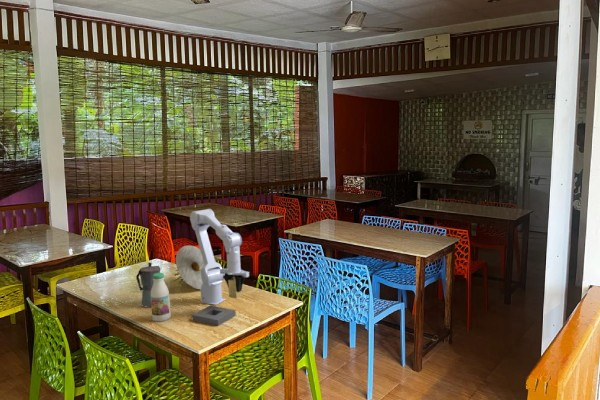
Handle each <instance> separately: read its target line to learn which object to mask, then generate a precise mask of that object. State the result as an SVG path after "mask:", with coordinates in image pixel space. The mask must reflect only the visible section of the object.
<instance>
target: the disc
mask: <svg viewBox="0 0 600 400" xmlns="http://www.w3.org/2000/svg"><path fill="white" fill-rule="evenodd" d="M175 264H176V271H177V272H175V273H174V274H173V275H174V277H175V276H178V275H179V276H178V277H177V278H175V279H174V280H172V281H170V283H173V282H175V281H177V280H179V279H180V281H179V282H178V283H179V284H180V285H181V287H180V289H182V288H183V287H184V286H186V284H187V285H189V286H190V287H192V288H194V289H197V290H201V286H202V284H203V282H202V279H201V271H200V270H201V269H202V267H203V266H204V261H203V258H202V254H201V250H200V247H196V246H194V245H184V246H182V247H180V249H178V251H177V252H176V256H175ZM210 270H213V269H210ZM207 271H209V270H207Z"/></svg>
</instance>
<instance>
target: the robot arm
mask: <svg viewBox="0 0 600 400" xmlns="http://www.w3.org/2000/svg"><path fill="white" fill-rule="evenodd" d="M189 220H190V224H191V228H192V229H193V231H194V232H195V235H196V239H197V243H198V248H199V249H200V250H201V254H202V258H203V261H204V266H203V267H202V269H201V270H200V271H201V279H202V282H203V284H202V286H201V289H200V297H201V300H200V303H203V304H208V305H212V306H217V305H219V304H221V303H222V302H224V301H227V298H224V297H223V292H222V283H223V281H225V283H226V285H227V287H228V289H229V284H228V280H229V279H231V278H233V277H235V281H236V284H237V292H240V291H241V290H242V289H243V284H244V282H245V279H246V278H249V277H250V271H246V270H243V269H242V268H241V251H240V250H241V249H240V247H241V245H242V244H243V240H242V239H243V238H242V236H241V234H240V233H239V232H233V231H232V230H231V229H230V228H229V227H228V225H226V224H222V223H221V222H220V221H219V220H218V219H217V217H216V216H215V212H214V211H213V210H212V209H211V208H207V209H201V210H193V211H191V214H190V216H189ZM209 227H211V228H213V229H214V230H215V234H216V236H218V238H219V239H220V240H222V243H223V246H224V250H225V252H226V264H227V265H226V266H227V268H223V267H222V266H221V264H220V263H219V262H216V259H215V257H214V252H213V248H212V246H211V242H210V239H209V234H208V232H207V230H208V228H209ZM210 269H213V270H210ZM207 270H209V271H207Z"/></svg>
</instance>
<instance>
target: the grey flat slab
mask: <svg viewBox="0 0 600 400" xmlns="http://www.w3.org/2000/svg"><path fill="white" fill-rule="evenodd" d="M236 313H237V312H236V309H231V308H227V307H220V306H217V305H212V304H209V305H208V306H206V307H205V308H202V309H201V310H199V311H196V312H194V313H193V314H191V318H192V321H194V322H199V323H203V324H206V325H211V326H212V325H213V326H216V327H218V326H221V325H222V324H224V323H226V322H227V321H230V320H231V319H233V318H234V317H236V316H237V315H236Z"/></svg>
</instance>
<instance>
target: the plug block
mask: <svg viewBox="0 0 600 400" xmlns="http://www.w3.org/2000/svg"><path fill="white" fill-rule="evenodd" d="M235 277H236V276H234V277H233V278H231V279H229V280H228V284H229V288H228V296H229V298H231V299H238V298H240V297H242V296H243V292H242V290H241V291H240V292H237V284H236V281H235Z"/></svg>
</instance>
